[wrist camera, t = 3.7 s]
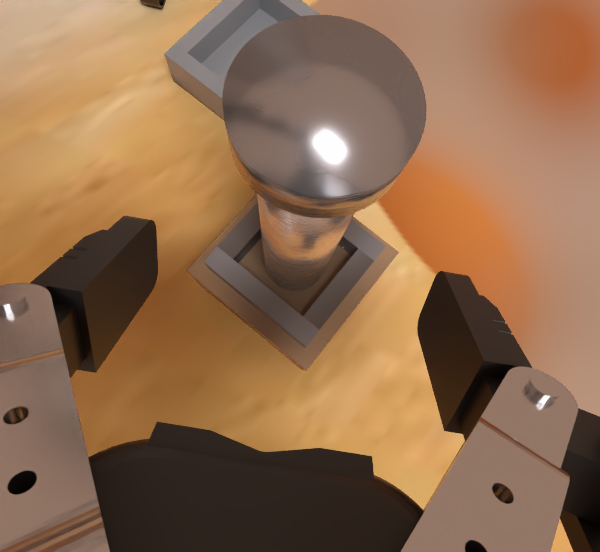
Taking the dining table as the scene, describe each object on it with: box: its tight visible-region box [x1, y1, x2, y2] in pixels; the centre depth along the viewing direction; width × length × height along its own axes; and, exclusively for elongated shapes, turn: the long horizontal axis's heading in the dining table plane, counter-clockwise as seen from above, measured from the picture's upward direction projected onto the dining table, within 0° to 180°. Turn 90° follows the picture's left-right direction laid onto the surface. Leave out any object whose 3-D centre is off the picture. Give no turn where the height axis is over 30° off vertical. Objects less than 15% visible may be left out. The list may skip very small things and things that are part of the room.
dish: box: [164, 0, 320, 121], centre depth 27 cm, size 10×9×2 cm
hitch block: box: [187, 194, 399, 370], centre depth 22 cm, size 8×8×6 cm
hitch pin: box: [222, 15, 426, 291], centre depth 15 cm, size 4×4×13 cm
